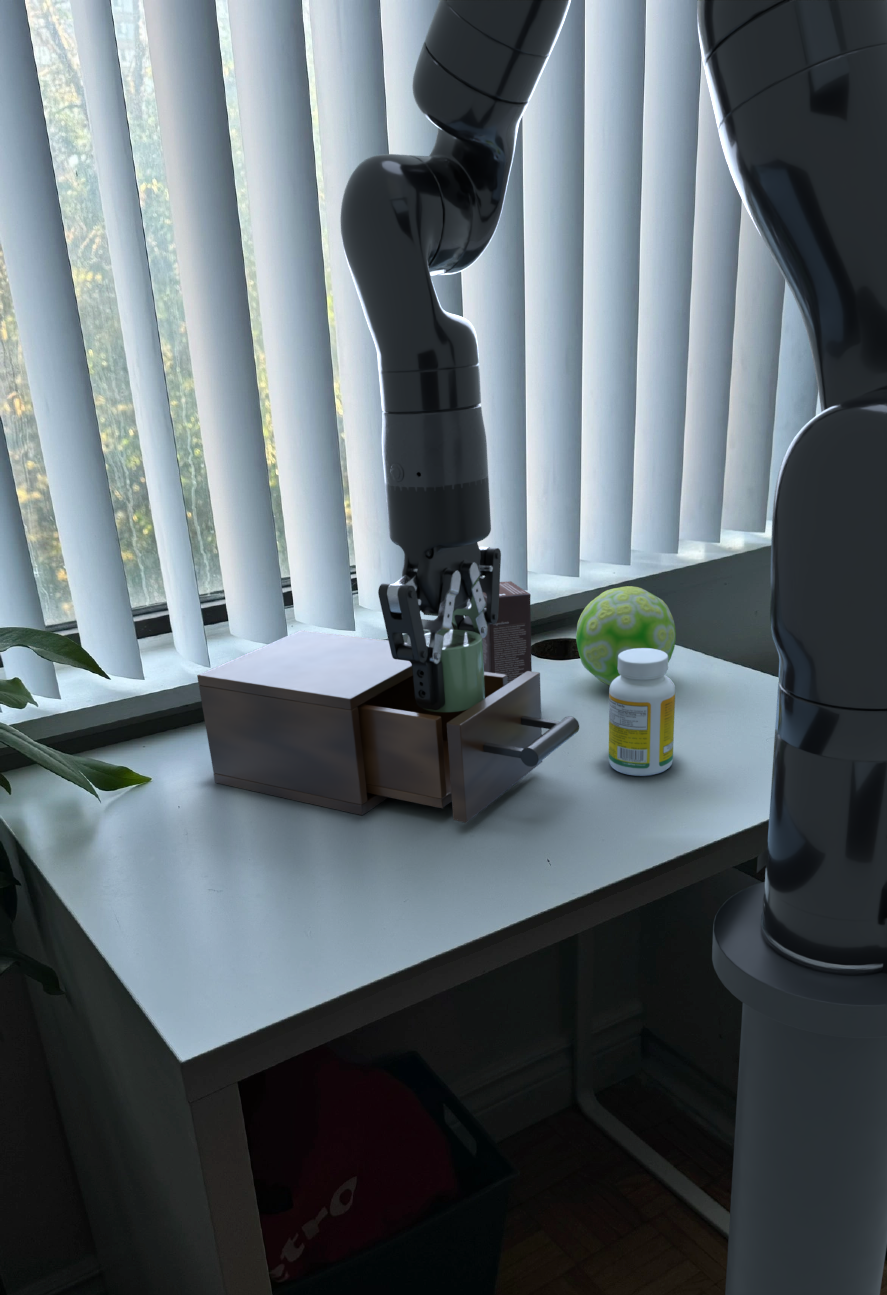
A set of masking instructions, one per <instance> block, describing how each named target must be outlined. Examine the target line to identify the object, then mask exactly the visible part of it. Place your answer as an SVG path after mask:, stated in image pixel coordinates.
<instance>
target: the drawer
mask: <svg viewBox="0 0 887 1295" xmlns="http://www.w3.org/2000/svg"><path fill="white" fill-rule="evenodd" d="M484 678H485V696H486V698H485V699H483V700H482V701H480V702H479V703H477V704H475V705H474V706H472V707H471V708H469V709H468V710H464V711H458V712H433V711H428V710H425V709H423V708H420V707H419V706H418V705H417V703H416V699H415V694H414V691H415V690H414V682H413V676H411V677H409V678H407V679H406V680H404V681H402V682H400V683H398V684H397V685H395V686H393V687H391V688H389V689H388V690H386V691H384V692H382V693H380V694H379V695H377V696H375V697H373V698H371V699H370V700H368V701H366V702H364V703H362V704H361V705H359V706H357V707H358V714H359V724H360V733H361V743H362V752H363V762H364V771H365V781H366V790H367V793H371V794H376V795H380V796H385V797H388V798H391V799H396V800H400V801H405V802H410V803H414V804H420V805H423V806H429V807H434V808H438V809H444V808H445V807H446V806H447V805H448V804H450V803H451V805H452V806H451V807H452V819H453V821H456V822H459V823H460V822H461V823H465V824H467V823H468V822H470V821H471V820H473V818H474V817H476V816H477V815H478V814H480V813H481V812H482V811H483V810H485V809H486V808H487V807H488V806H490V805H491V804H492V803H493V802H495V801H496V800H497V799H498V798H499V797H500V796H502V795H503V794H505V793H506V792H507V791H508V790H509V789H511V788H512V787H513V786H515V785H516V784H517V783H518V782H520V781H521V780H522V779H523V778H524V777H526V776H527V775H529V773H530V772H532V771H534V769H536V768H537V767H538V766H539V765H541V764H542V763H543V761H544V760H545V759H546V758H547V757H549V756H550V755H551V754H552V753H553V752H555V751H556V750H557V749H558V748H560V747H561V746H562V745H563V744H565V743H566V742H567V741H569V739H571V738H572V737H573V736H574V735H576V734H577V733H578V732H579V730H580V723H579V721H578V720H577V718H575V717H573V716H572V715H571V716H570V715H567V716H565V717H564V718H562V719H560V720H556V719H555V720H553V719H548V718H542V694H541V673H540V672H538V671H533V670H532V671H527V672H525V673H523V674H522V675H520V676H519V677H517V678H516V679H514V680H513V681H511V682H510V683H508V684H507V675H505V674H497V673H490V672H484ZM542 729H546V730H547V731H545V732H544V733H543V730H542Z"/></svg>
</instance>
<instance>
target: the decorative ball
mask: <svg viewBox="0 0 887 1295" xmlns="http://www.w3.org/2000/svg"><path fill="white" fill-rule="evenodd" d="M676 638H677V631H676V625H675V620H674V617H673V614H672V613H671V610H670V608H669V606H668V605H667V603H665V601H664V600H663V599H662V598H659V597H658V596H656V595H655V594H653V593H651V592H649V591H648V590H646V589H644V588H642V587H638V586H631V585H630V586H629V585H628V586H620V587H615V588H611V589H607V590H605V591H603V592H601V593H600V594H599V595H597V596H596V597H595V598H594V599H592V600H591V601H590V602H589V603H588V604H587V605H586V606H585V607H584V609H583V610H582V612H581V613H580V615H579V618H578V621H577V624H576V634H575V641H576V647H577V651H578V655H579V657H580V661H581V662H580V663H581V664H582V666H583V667H584V669H585V670H586V671H588V672H589V673H591V675H592V676H594V677H595V679H597V680H598V681H600V682H601V683H603V684H606V686H607V685H608V686H610V685H611V683H612V681H613V680H614V679H615V678H617V677H618V676H620V674H619V672H618V669H617V668H618V655H619V654H620V653H621V652H623V651H626V650H630V649H636V648H651V649H657V650H661V651H663V652H665V653H666V654H667V655H668V663H670V660H671V658H672V655H673V653H674V650H675V647H676Z"/></svg>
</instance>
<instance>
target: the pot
mask: <svg viewBox="0 0 887 1295" xmlns="http://www.w3.org/2000/svg"><path fill="white" fill-rule="evenodd" d="M430 634H431V633H430V632H427V633H424V635H425V640H426V645H427V646H428V647H429V642H430ZM440 661H441V662H442V666H443V680H444V694H445V705H444V706H443V707H442V708H440V709H438V710H430V709H425V710H428V711H433V712H458V711H464V710H468V709H469V708H471V707H472V706H474V705H475V704H477V703H479V702H480V701H482V700H483V699H485V698H486V696H485V678H484V660H483V643H482V636H481V635H480V634H478V633H476V632H473V631H467V630H454V629H451V630H450V631H449V632H448V633H446V634H445V635H444V641H443V648H442V655H441V660H440ZM423 709H424V708H423Z"/></svg>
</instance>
